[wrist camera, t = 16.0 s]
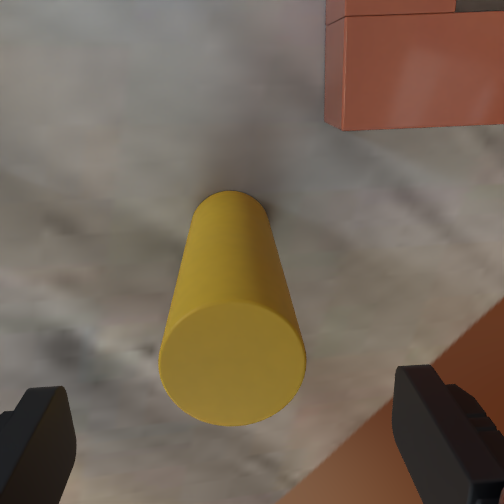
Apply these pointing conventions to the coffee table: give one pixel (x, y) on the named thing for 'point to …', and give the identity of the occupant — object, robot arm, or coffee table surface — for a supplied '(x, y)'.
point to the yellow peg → (231, 319)
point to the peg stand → (412, 65)
